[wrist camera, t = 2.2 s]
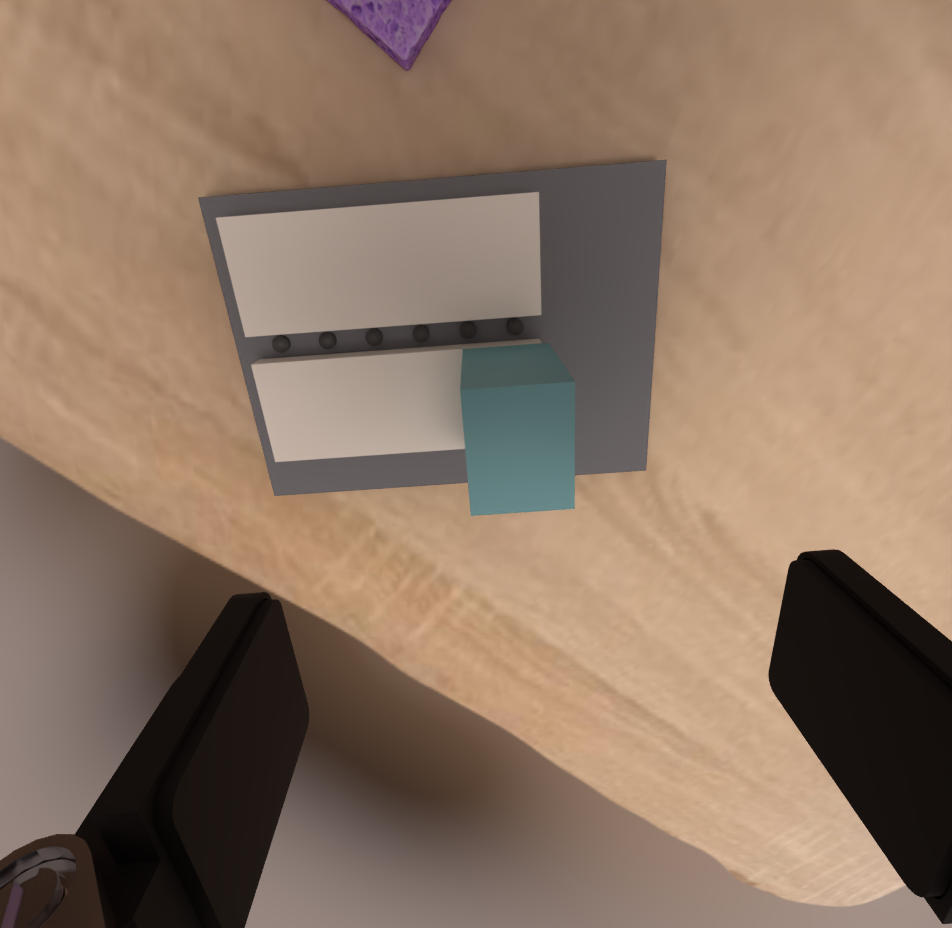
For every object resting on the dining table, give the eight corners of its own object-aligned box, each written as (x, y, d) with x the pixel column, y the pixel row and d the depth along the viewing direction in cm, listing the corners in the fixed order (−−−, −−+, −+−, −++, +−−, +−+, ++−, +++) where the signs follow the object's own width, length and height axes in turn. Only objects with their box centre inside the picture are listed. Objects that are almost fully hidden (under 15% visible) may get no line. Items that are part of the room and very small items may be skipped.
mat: (657, 162, 21) (666, 159, 20) (639, 461, 26) (646, 470, 25) (209, 199, 21) (198, 197, 20) (281, 486, 27) (274, 495, 26)
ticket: (535, 193, 20) (539, 191, 19) (538, 332, 23) (541, 337, 21) (228, 218, 21) (215, 217, 20) (261, 353, 23) (250, 359, 22)
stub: (545, 337, 22) (575, 381, 16) (547, 434, 24) (574, 508, 18) (259, 359, 23) (176, 410, 16) (282, 453, 24) (215, 533, 18)
